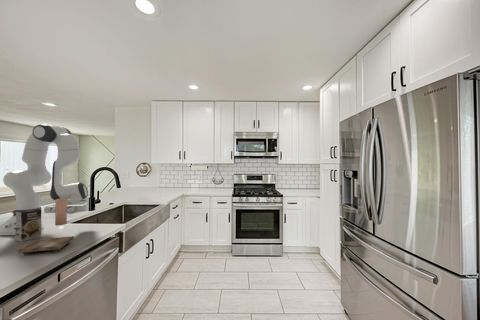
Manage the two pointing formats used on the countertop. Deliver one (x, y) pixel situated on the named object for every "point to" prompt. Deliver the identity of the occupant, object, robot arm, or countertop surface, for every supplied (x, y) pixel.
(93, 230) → the countertop surface
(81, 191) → the robot arm
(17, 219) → the coffee box
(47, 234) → the countertop surface
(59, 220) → the terracotta canister
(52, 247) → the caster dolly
